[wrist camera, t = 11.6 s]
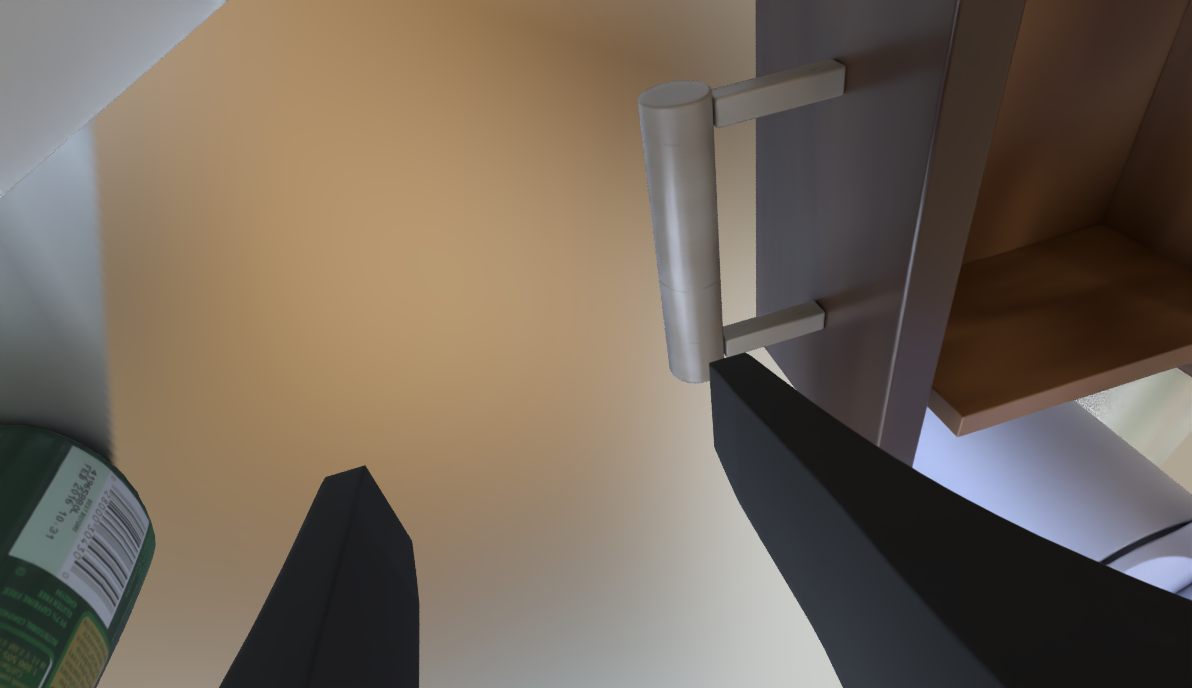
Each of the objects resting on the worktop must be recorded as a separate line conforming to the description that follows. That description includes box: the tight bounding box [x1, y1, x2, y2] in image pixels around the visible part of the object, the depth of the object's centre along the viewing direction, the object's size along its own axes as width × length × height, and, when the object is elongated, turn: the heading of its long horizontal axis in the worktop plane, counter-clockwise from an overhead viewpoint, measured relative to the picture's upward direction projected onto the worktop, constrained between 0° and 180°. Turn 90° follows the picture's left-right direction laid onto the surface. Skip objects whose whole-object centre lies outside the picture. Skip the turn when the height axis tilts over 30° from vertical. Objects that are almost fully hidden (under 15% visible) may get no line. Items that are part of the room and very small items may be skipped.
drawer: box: [638, 0, 1192, 467], centre depth 15 cm, size 17×13×7 cm
